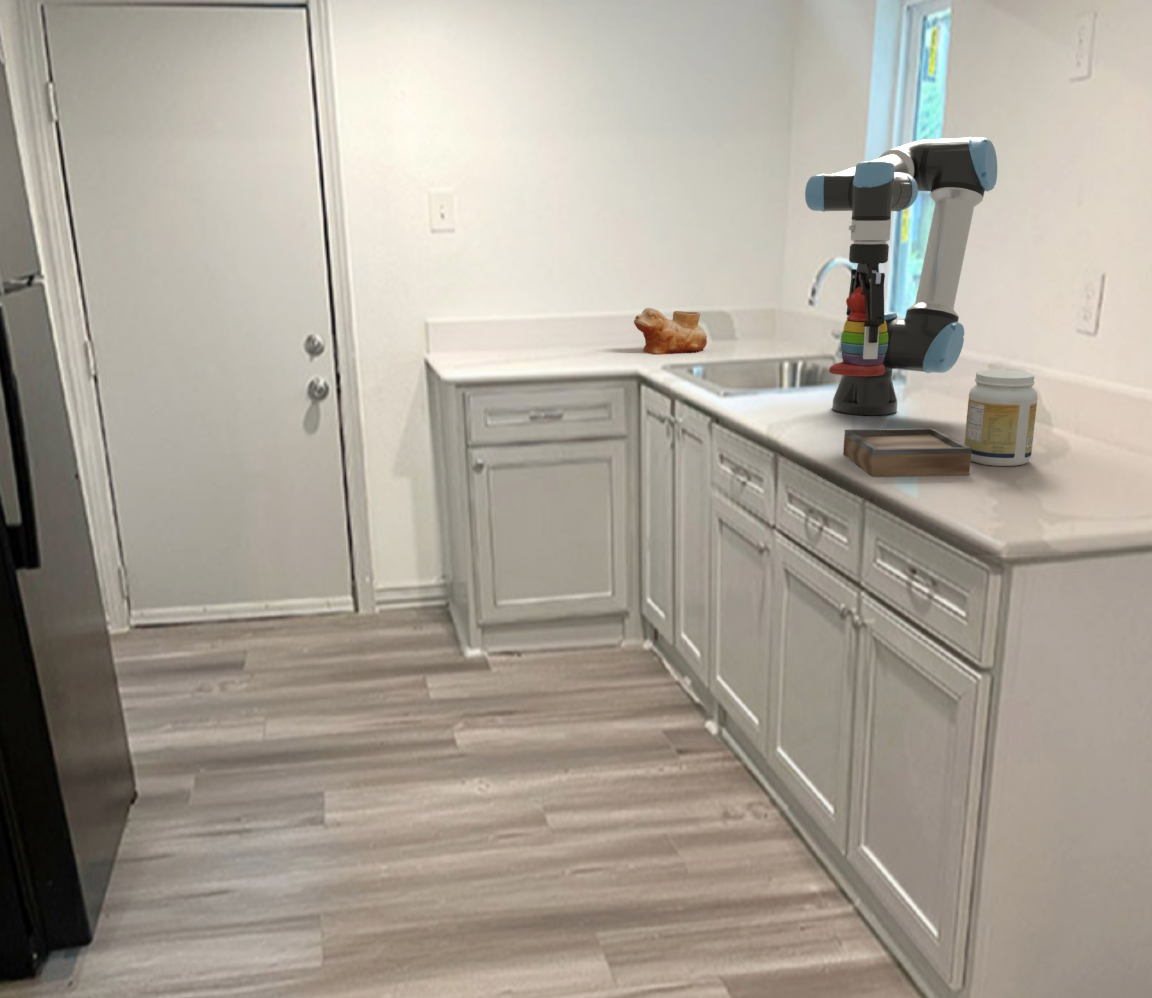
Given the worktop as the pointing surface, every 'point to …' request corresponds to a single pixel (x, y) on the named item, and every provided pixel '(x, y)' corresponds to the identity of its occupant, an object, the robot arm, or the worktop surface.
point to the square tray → (906, 452)
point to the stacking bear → (859, 342)
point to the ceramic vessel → (671, 332)
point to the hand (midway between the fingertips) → (862, 355)
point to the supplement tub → (1001, 417)
